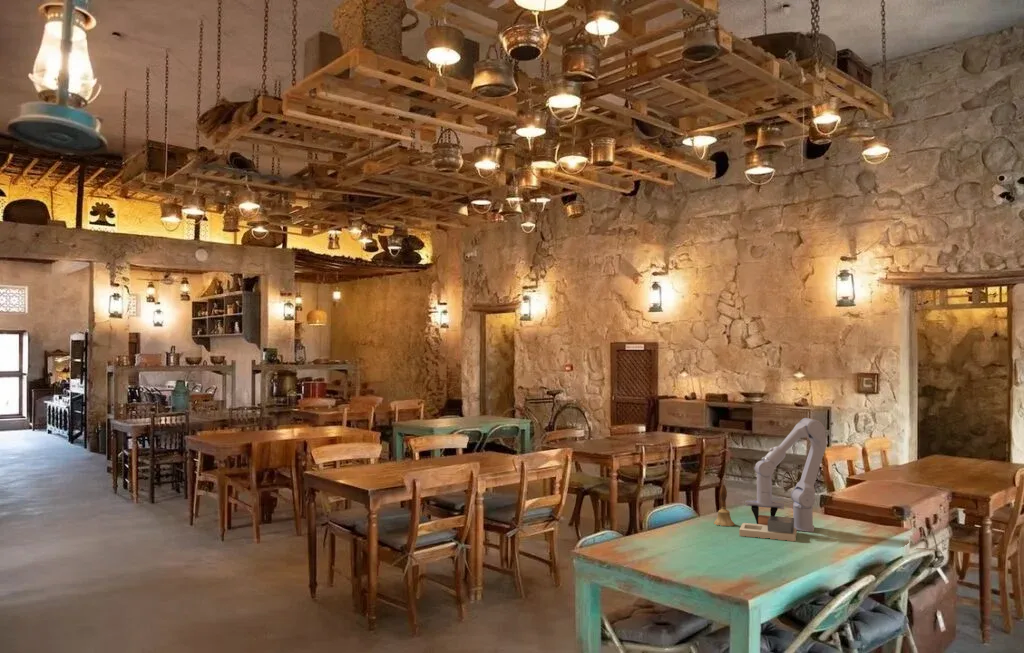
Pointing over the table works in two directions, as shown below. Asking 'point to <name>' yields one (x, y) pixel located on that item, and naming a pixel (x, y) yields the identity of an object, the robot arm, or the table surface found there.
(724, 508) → the hand bell
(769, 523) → the cover
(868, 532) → the table surface
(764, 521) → the block
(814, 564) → the table surface
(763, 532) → the board
